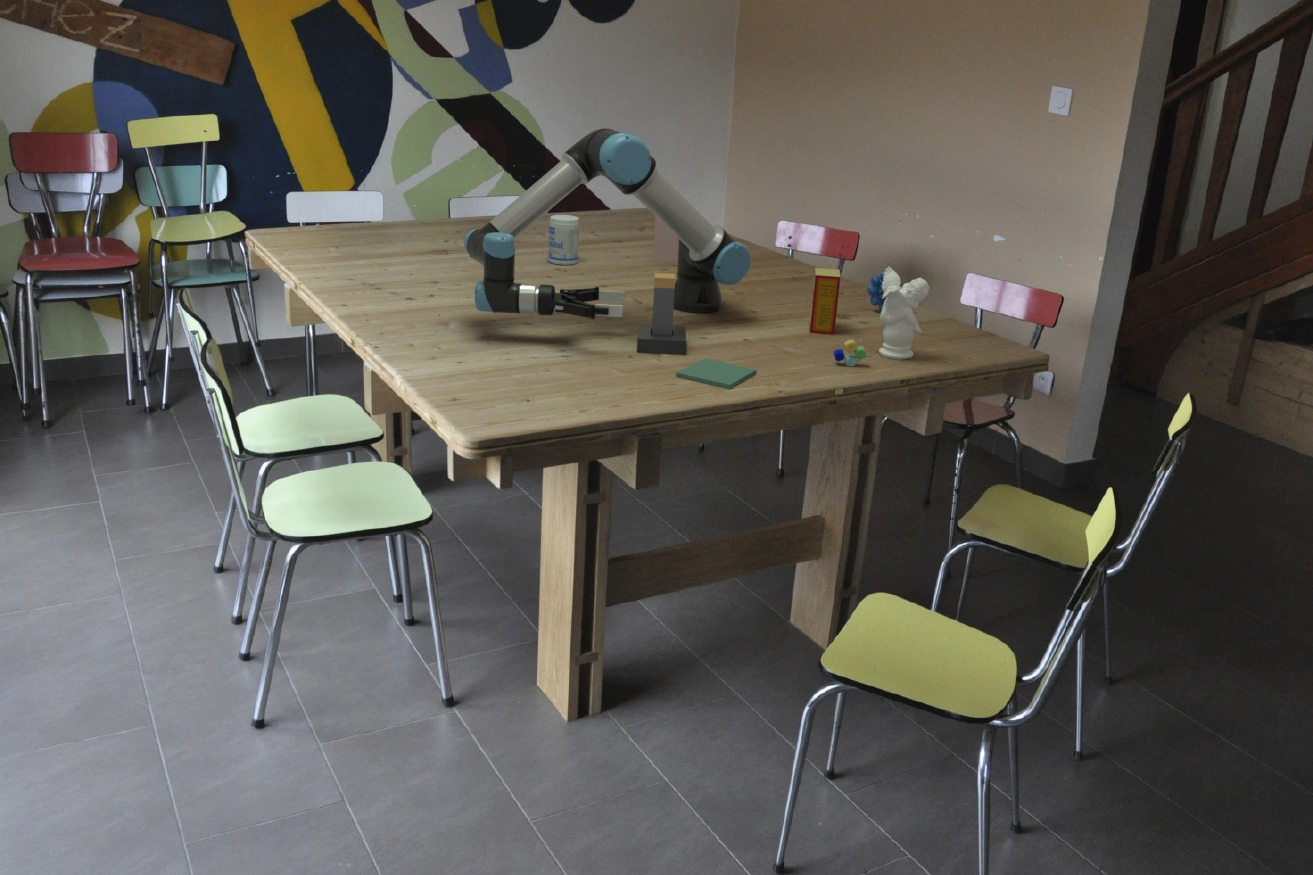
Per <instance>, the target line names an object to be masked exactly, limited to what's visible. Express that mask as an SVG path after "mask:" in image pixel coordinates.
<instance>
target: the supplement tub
mask: <svg viewBox="0 0 1313 875" xmlns="http://www.w3.org/2000/svg"><path fill="white" fill-rule="evenodd" d="M548 231H549V232H548V233H549V234H548V261H549V262H550V263H551V264H554V265H558V266H559V265H562V266H572V265H575V264H577V263H578V260H579V259H578V258H579V239H580V238H579V237H580V218H579V217H578V216H576V215H571V214H555V215H551V216H550V217H549V229H548Z"/></svg>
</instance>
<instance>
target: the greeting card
mask: <svg viewBox="0 0 1313 875" xmlns="http://www.w3.org/2000/svg"><path fill="white" fill-rule="evenodd" d="M654 216H655V215H654ZM653 240H654V241H653V259H652V260H653V261H652V262H655V263H678V247H679V241H678V238H677V237H676V236H675V235H674V234H673V233H672V232H671V231H670V230H669V229H668V228H667V227H666V226H665V225H664V224H663V223H662V222H661V221H660V220H659V219H658V218H657V217H656V216H655V218H654V237H653Z"/></svg>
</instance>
